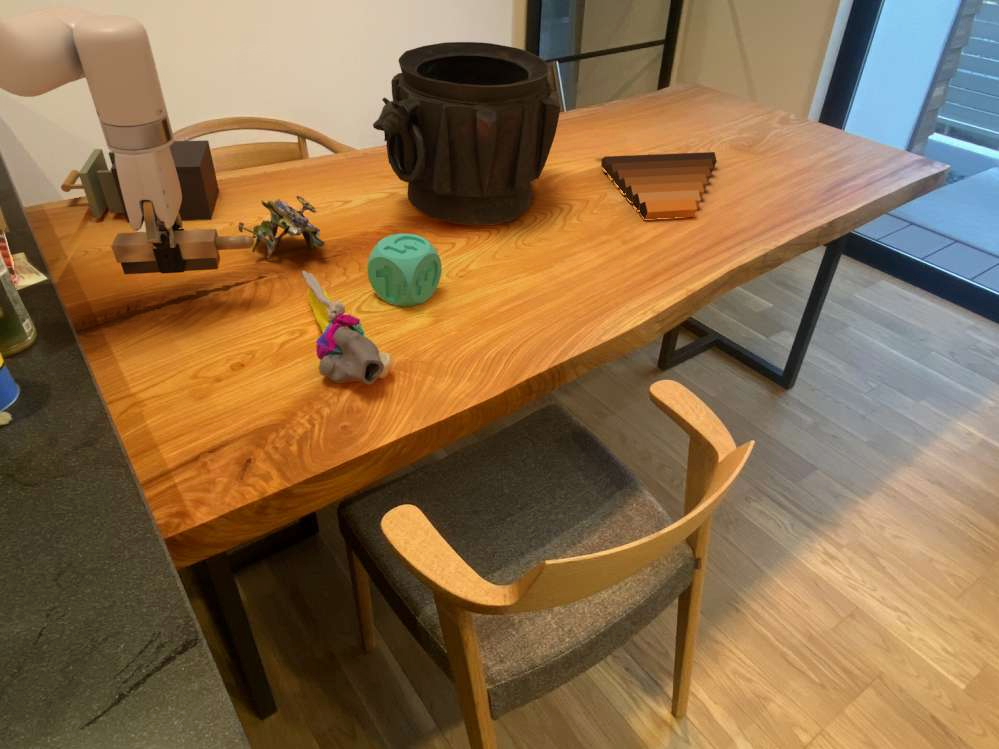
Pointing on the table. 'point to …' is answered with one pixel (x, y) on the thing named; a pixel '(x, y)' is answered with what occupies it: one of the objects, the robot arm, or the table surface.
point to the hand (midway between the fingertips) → (175, 262)
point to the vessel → (469, 129)
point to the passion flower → (285, 225)
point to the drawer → (96, 184)
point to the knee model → (343, 341)
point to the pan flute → (662, 181)
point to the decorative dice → (404, 269)
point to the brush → (193, 244)
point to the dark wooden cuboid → (190, 179)
